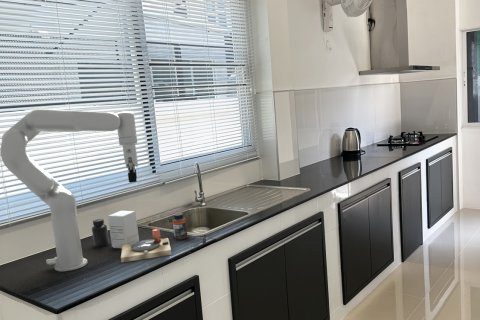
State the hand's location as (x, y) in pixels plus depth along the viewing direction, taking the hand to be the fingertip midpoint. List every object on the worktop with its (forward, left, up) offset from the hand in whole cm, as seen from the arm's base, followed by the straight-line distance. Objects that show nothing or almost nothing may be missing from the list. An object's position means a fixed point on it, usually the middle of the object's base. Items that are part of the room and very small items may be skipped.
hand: (133, 180), depth 192 cm
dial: (+2, -6, -28) cm, 29 cm away
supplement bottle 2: (+18, +7, -31) cm, 36 cm away
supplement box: (-7, +9, -31) cm, 33 cm away
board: (+2, -6, -30) cm, 31 cm away
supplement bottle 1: (-18, +15, -31) cm, 38 cm away
